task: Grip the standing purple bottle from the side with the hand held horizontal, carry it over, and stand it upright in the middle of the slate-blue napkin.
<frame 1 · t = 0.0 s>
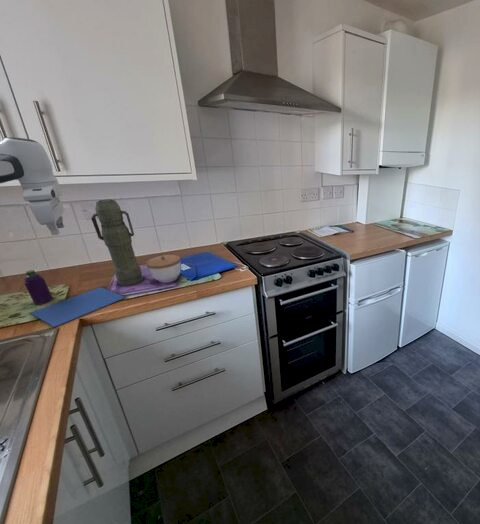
hand: (58, 231, 104), 28 cm above the worktop, tool pointing down, fingers open, 8 cm apart
napkin: (80, 305, 111), on the worktop
lidded bowl: (168, 279, 132), on the worktop
purple bottle: (43, 300, 114), on the worktop
thermos: (131, 281, 129), on the worktop
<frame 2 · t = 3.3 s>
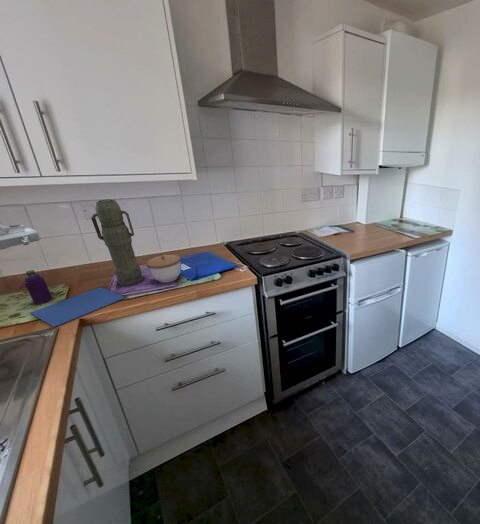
hand: (8, 246, 111), 20 cm above the worktop, tool horizontal, fingers open, 8 cm apart
nothing on the worktop moved.
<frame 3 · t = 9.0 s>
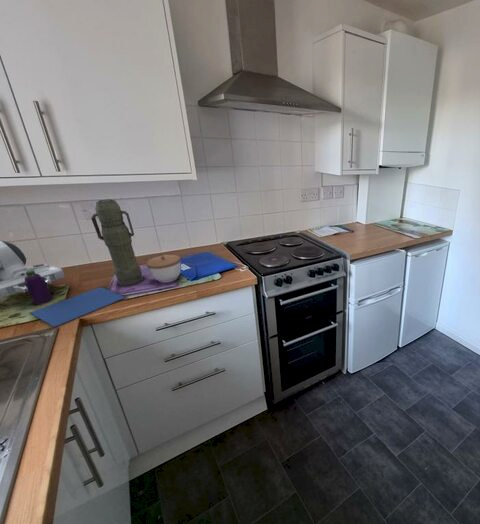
hand: (37, 286, 111), 7 cm above the worktop, tool horizontal, fingers closed on purple bottle, 5 cm apart
purple bottle: (43, 300, 114), on the worktop, touching gripper
everything else where it was.
when the fingers open (7 cm above the worktop, at t = 16.7 s): purple bottle stays where it is, resting on napkin.
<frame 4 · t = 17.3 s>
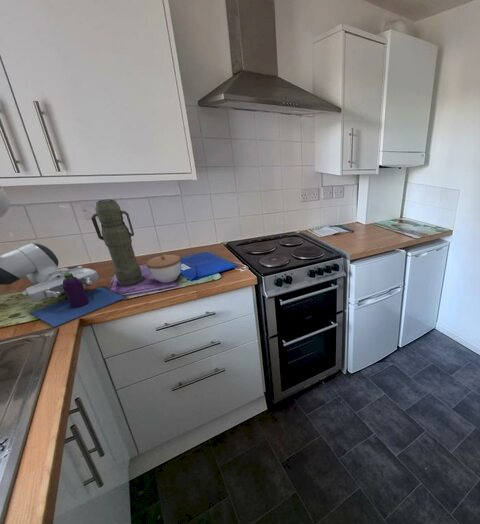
hand: (74, 289, 108), 7 cm above the worktop, tool horizontal, fingers open, 8 cm apart
purple bottle: (80, 304, 111), resting on napkin
everything else where it was.
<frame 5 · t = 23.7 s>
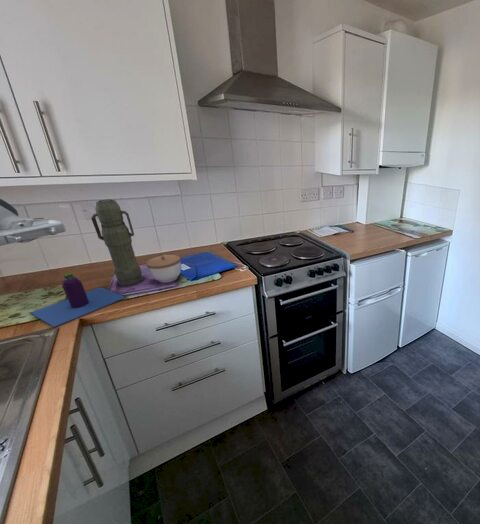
hand: (37, 236, 107), 25 cm above the worktop, tool horizontal, fingers open, 8 cm apart
nothing on the worktop moved.
at the end: purple bottle inside the target area on the napkin (0.1 cm from its centre), point 0.3 cm above the napkin's base; purple bottle tilted 0°; the gripper is holding nothing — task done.
